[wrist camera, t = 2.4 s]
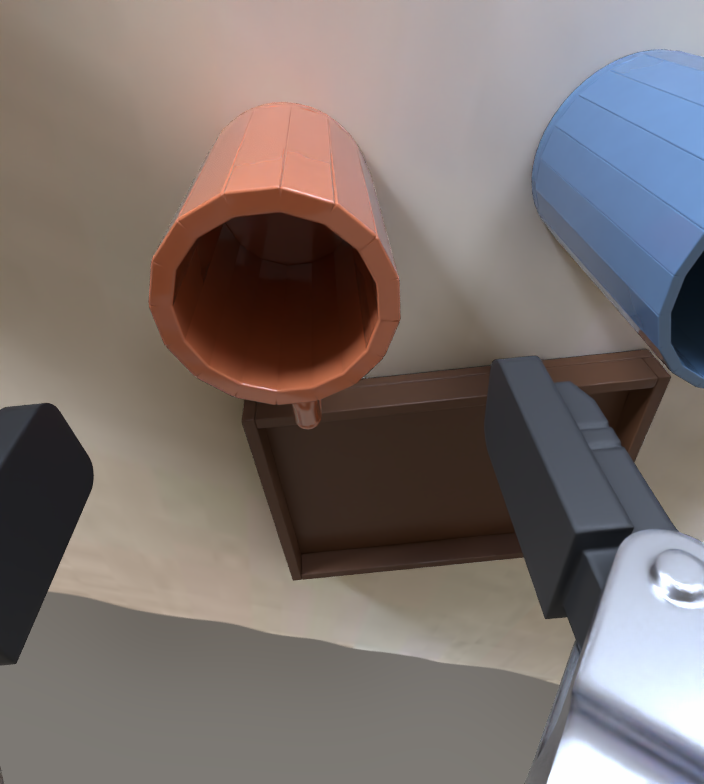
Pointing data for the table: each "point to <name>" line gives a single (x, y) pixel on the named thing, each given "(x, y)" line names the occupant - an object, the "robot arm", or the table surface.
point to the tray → (416, 465)
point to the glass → (635, 196)
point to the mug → (278, 264)
